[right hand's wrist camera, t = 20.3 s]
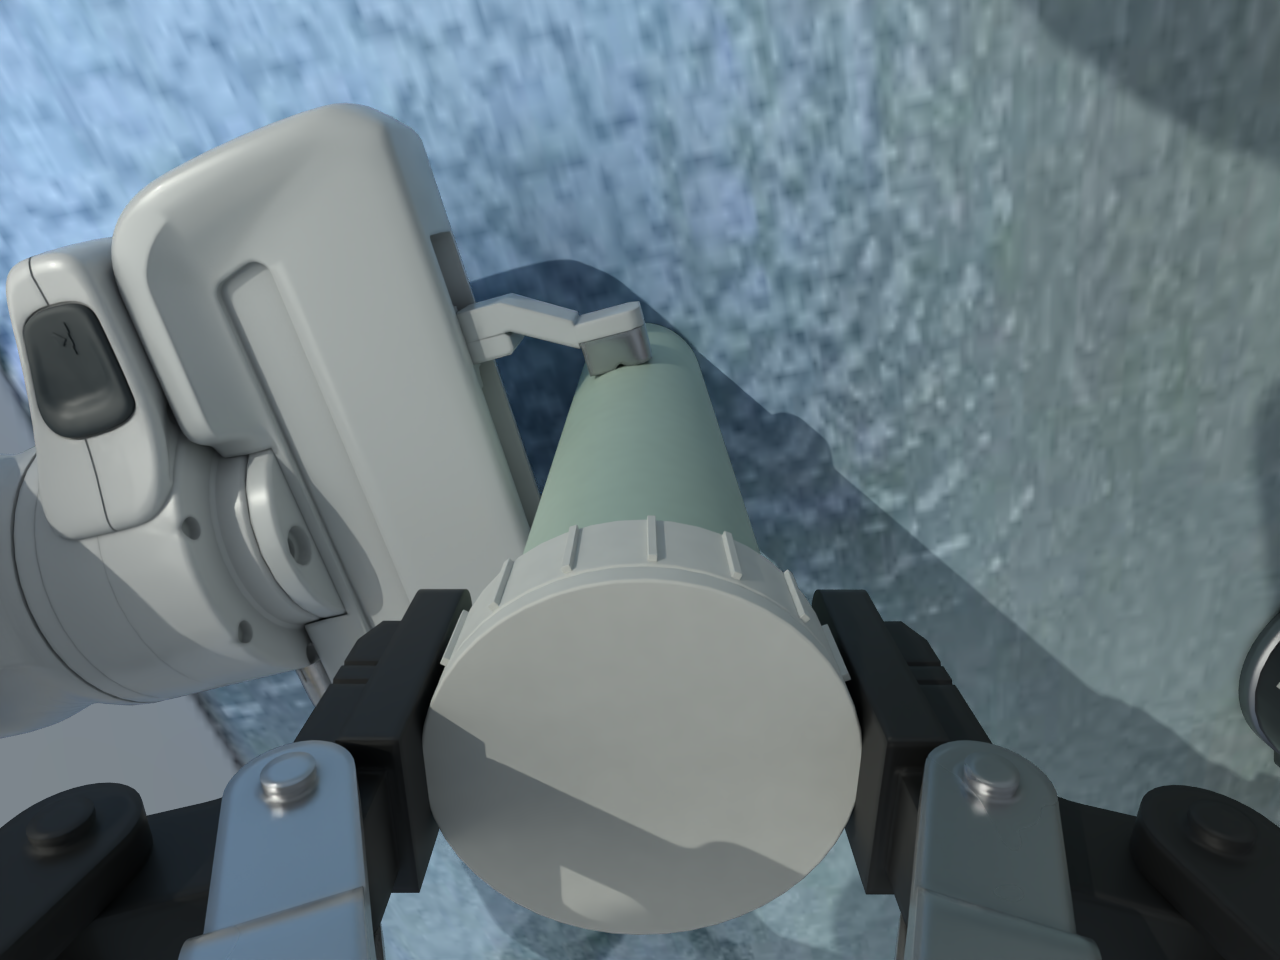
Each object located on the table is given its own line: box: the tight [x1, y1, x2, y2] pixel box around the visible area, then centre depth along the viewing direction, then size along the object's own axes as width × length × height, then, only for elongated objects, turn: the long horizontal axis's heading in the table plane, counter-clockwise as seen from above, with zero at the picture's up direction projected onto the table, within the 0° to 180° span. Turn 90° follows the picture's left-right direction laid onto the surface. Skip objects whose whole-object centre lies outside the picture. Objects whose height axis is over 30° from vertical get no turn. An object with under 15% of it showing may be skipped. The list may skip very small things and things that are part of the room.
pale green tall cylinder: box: [523, 323, 761, 555], centre depth 19 cm, size 4×4×19 cm
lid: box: [422, 515, 862, 935], centre depth 10 cm, size 6×6×2 cm
